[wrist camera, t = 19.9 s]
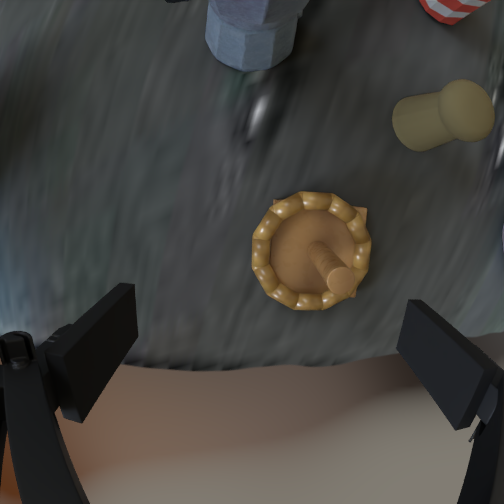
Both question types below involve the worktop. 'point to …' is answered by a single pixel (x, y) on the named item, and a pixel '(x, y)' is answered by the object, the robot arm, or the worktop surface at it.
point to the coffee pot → (503, 237)
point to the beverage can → (451, 9)
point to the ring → (270, 227)
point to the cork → (444, 116)
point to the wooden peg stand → (314, 252)
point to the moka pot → (251, 31)
